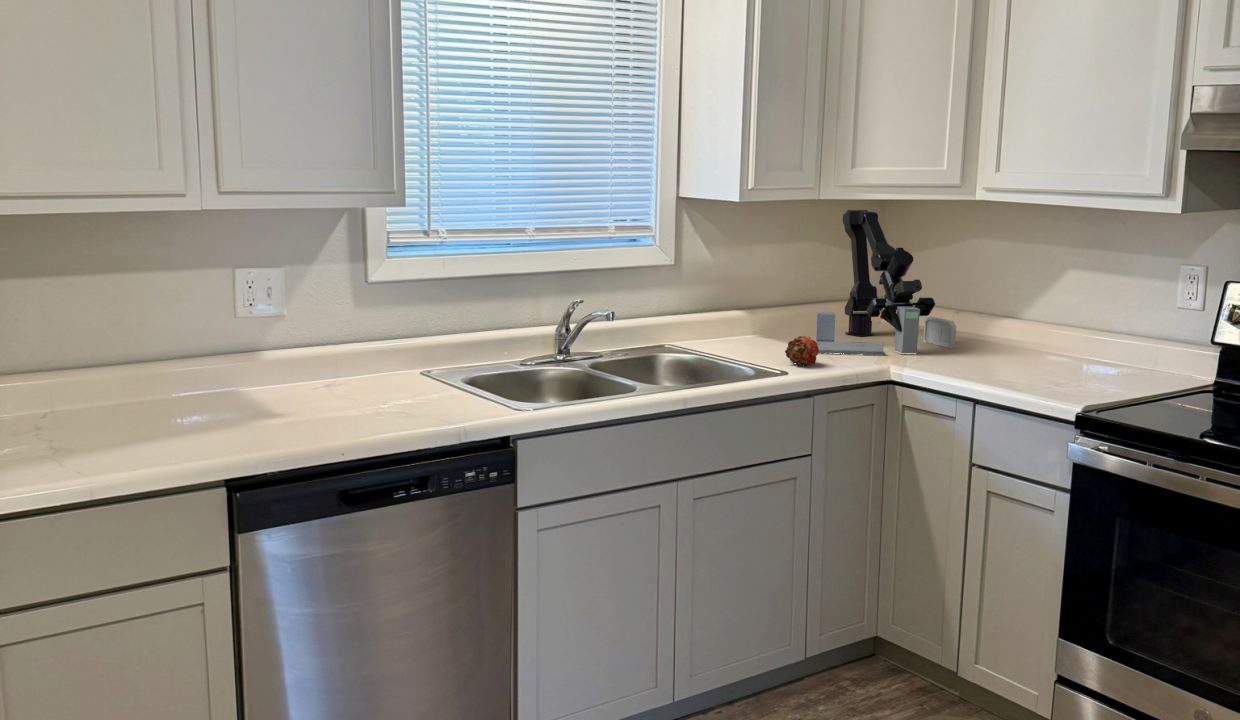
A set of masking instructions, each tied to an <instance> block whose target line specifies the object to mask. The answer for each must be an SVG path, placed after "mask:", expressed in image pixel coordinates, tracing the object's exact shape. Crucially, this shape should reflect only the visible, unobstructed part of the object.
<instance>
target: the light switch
mask: <svg viewBox="0 0 1240 720" xmlns="http://www.w3.org/2000/svg"><path fill="white" fill-rule="evenodd" d="M956 334H957V325H956V323H955V322H954V320H950V319H944V318H940V317H934V316H926V318H925V319H924V321H923V340H922V342H923V343H926V342H929V343H928V344H932V343H933V345H937V346H940V345H941V346H942V347H946V348H948V349H955V348H956Z"/></svg>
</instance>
